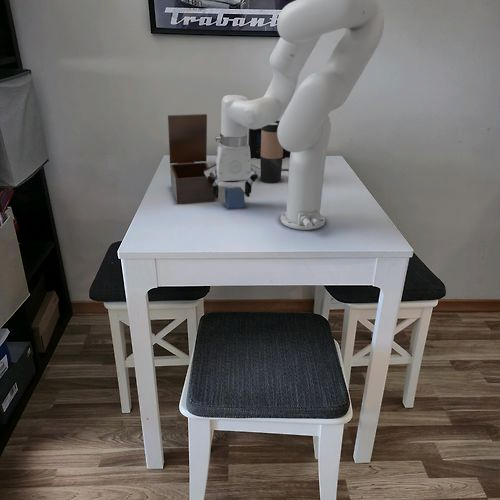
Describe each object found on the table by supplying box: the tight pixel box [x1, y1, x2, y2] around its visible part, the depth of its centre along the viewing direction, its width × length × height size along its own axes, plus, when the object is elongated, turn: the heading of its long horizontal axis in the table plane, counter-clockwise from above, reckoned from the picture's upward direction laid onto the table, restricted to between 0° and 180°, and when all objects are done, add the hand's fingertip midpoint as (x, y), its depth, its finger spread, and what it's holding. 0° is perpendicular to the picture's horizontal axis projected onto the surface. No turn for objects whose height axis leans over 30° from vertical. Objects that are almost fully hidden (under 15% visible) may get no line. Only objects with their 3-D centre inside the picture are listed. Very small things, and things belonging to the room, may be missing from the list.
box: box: [169, 161, 217, 205], centre depth 151 cm, size 15×12×8 cm
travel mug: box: [260, 120, 283, 184], centre depth 162 cm, size 8×8×20 cm
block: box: [224, 186, 246, 210], centre depth 143 cm, size 5×5×5 cm
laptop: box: [247, 128, 291, 171], centre depth 179 cm, size 18×12×13 cm
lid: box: [167, 113, 208, 164], centre depth 152 cm, size 16×12×5 cm
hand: (231, 196), depth 144 cm, fingers open, 9 cm apart
